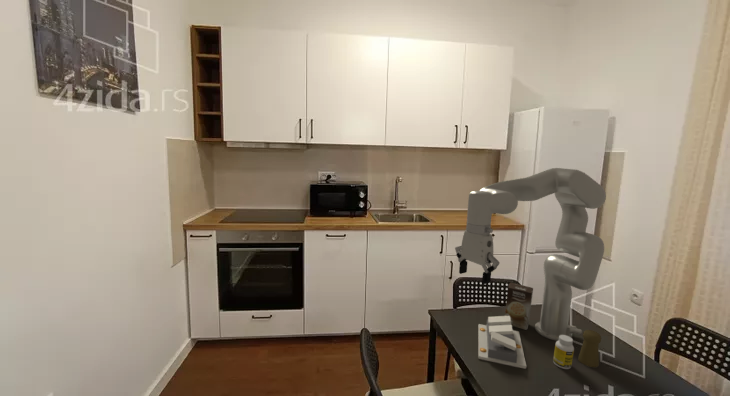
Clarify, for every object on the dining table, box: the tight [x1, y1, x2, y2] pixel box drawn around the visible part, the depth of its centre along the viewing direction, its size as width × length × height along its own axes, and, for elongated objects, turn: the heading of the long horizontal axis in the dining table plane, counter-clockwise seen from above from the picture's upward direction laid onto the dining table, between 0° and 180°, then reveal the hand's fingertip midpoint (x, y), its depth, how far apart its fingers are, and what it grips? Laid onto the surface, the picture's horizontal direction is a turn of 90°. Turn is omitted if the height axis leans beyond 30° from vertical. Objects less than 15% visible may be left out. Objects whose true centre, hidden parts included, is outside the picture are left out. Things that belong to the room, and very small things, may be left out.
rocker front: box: [491, 331, 516, 351], centre depth 115 cm, size 8×4×2 cm, turn 72°
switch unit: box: [477, 318, 527, 370], centre depth 122 cm, size 15×22×4 cm
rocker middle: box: [489, 325, 514, 335], centre depth 122 cm, size 8×4×2 cm, turn 71°
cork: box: [577, 329, 602, 368], centre depth 114 cm, size 6×6×11 cm
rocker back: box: [487, 315, 511, 325], centre depth 128 cm, size 8×4×2 cm, turn 71°
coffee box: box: [504, 282, 534, 331], centre depth 137 cm, size 9×6×16 cm
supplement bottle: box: [552, 335, 575, 370], centre depth 112 cm, size 5×5×10 cm
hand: (474, 277), depth 112 cm, fingers open, 9 cm apart
